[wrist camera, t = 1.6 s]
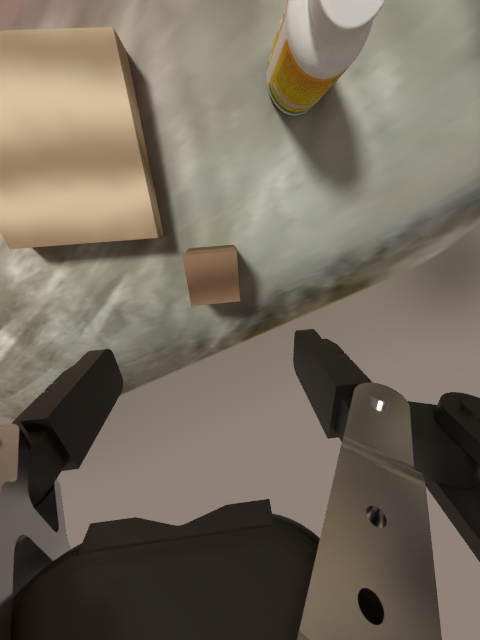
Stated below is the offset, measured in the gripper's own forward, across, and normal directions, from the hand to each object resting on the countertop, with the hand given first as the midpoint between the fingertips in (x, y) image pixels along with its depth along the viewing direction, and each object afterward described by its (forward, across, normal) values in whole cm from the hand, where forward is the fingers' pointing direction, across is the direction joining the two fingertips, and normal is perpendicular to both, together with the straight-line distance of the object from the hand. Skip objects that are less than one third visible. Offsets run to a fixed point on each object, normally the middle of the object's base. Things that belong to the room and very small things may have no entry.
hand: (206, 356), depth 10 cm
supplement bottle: (+18, -9, -16) cm, 26 cm away
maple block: (+18, +12, -11) cm, 25 cm away
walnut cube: (+18, 0, 0) cm, 18 cm away
